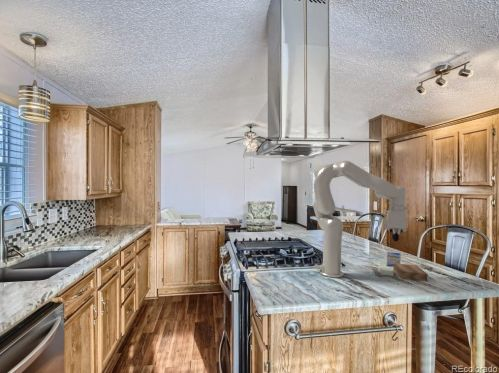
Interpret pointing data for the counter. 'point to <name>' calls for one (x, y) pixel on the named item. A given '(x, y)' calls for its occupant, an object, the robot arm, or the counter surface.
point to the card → (385, 270)
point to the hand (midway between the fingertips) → (395, 241)
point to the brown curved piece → (410, 272)
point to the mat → (383, 275)
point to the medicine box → (392, 258)
